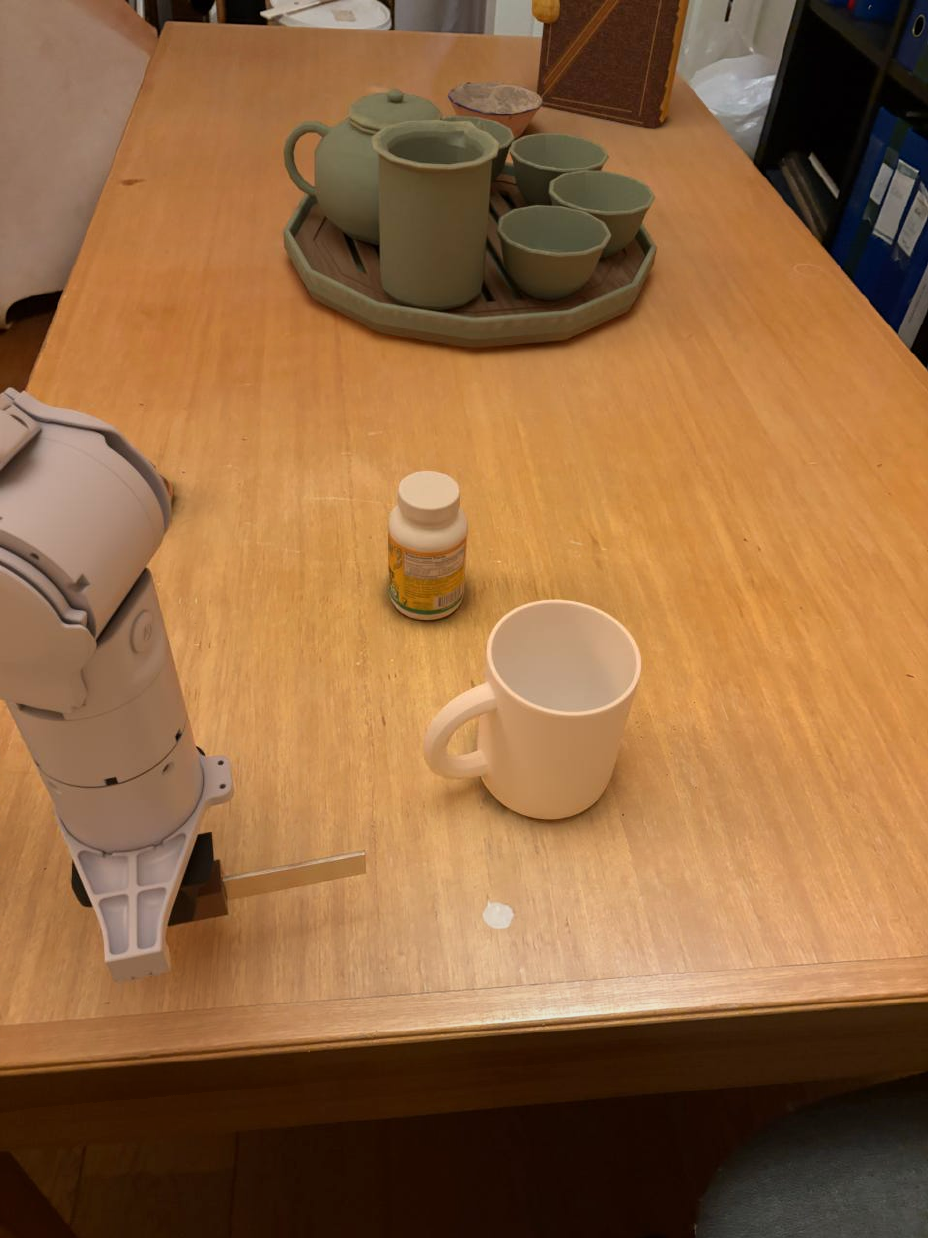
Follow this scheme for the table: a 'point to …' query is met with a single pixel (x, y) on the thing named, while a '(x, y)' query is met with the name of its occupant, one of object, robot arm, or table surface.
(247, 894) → the knife
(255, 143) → the table surface
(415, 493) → the supplement bottle
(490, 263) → the tea set
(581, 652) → the mug
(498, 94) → the bowl
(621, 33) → the book
